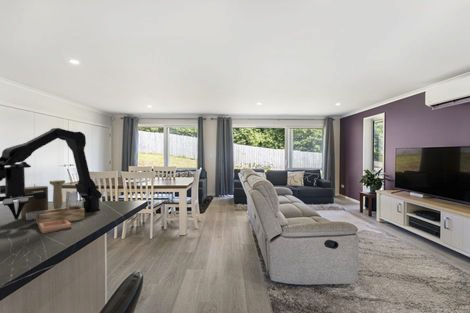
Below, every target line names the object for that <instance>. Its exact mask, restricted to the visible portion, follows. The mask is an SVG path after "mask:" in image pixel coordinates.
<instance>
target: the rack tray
mask: <svg viewBox="0 0 470 313" xmlns="http://www.w3.org/2000/svg"><path fill="white" fill-rule="evenodd" d="M68 229H72V223H71V221H68V220H66V219H63V220H57V221H51V222H45V223H39V225H38V230H39V231H40V232H41V233H42V234H46V233H52V232H58V231H62V230H63V231H64V230H68Z"/></svg>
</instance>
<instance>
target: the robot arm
mask: <svg viewBox="0 0 470 313" xmlns="http://www.w3.org/2000/svg"><path fill="white" fill-rule="evenodd" d="M57 139H59V140H62V141H65V142H66V144H67V147H68V148H69V149H70V151H71V152H72V156H73V160H74V164H75V169H76V172H77V176H78V182H77V183H74V186H75V189H76V191H75V192H77V193H78V195H79V196H80V197H81V199H83V201H82V203H81V204H82V206H81V207H82V208H84V213H90V212H95V211H101V208H100V199H101V198H102V196H103V193H101V191H99V189H98V188H97V185H96V183H95V181H94V180H93V179H92V177H91V174H90V170H89V169H90V168H89V166H88V162H87V161H88V160H87V157H86V153H85V149H86V148H85V147H86V145H87V142H86V139H87V138H86V135H85V134H84V133H83V132H81V131H73V130H67V129H63V128H60V127H56V128H55V127H53V128H51V129H50V130H48V131H46V132H44V133H42V134H40V135H38V136H36V137H34V138H32V139H30V140H28V141H27V142H24V143H21V144H16V145H13V146H10V147H6V148H4V149H3V150H2V152H1V156H0V182H2V181H3V180H4V179H5V181H4V182H5V185H4V184H3V185H0V195H4V196H0V202H2V205H3V206H7V208H8V209H9V210H10V211H11V214H12V216H13V218H14V220H18V219H19V218H20V216H21V210H22V208H23V207H24V205H25V203H29V201H28V198H35V199H37V200H38V199H46V193H45V192H44V191H33V192H32V194H25V187H26V180H25V179H26V178H25V176H26V175H25V168H26V169H27V168H28V169H29V168H31V167H32V165H31V164H28V163H27V161H26V160H27V159H29V157H31V156H32V154H33V153H34V152H35V151H37V150H39V149H40V148H42V147H44V146H46V145H48V144H50V143H52V142H53V141H56V140H57ZM14 201H17V205H16V207H15V203H14Z"/></svg>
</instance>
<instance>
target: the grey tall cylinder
mask: <svg viewBox="0 0 470 313" xmlns="http://www.w3.org/2000/svg"><path fill="white" fill-rule="evenodd" d="M77 193H78V192H76V191H73V192H66V193H65V208H66V211H68V210H75V209H77V206H78V202H77V201H78V200H77V198H78V196H77Z"/></svg>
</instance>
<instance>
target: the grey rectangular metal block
mask: <svg viewBox="0 0 470 313" xmlns="http://www.w3.org/2000/svg"><path fill="white" fill-rule="evenodd" d="M41 214H46V211H45V210H42V211H34V212H27V213H26V219H27V220H26V221H30V220H31V221H32V220H36V219H38V218H39V215H41Z"/></svg>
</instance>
